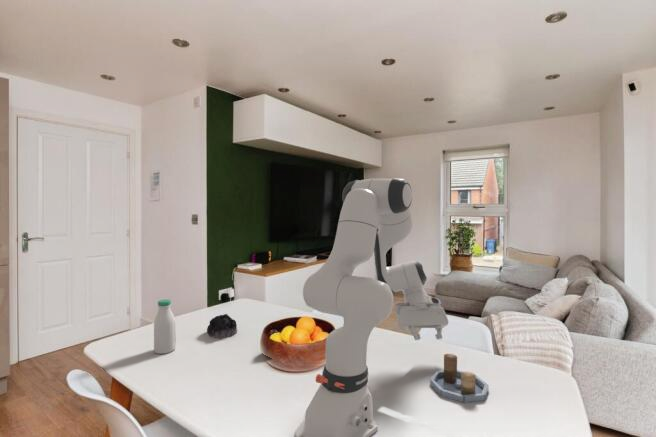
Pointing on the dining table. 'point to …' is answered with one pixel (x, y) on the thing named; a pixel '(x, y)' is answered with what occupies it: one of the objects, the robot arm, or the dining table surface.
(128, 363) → the dining table surface
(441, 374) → the ring tray
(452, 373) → the walnut bead
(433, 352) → the dining table surface
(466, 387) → the oak bead
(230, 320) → the black rock
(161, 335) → the milk bottle
